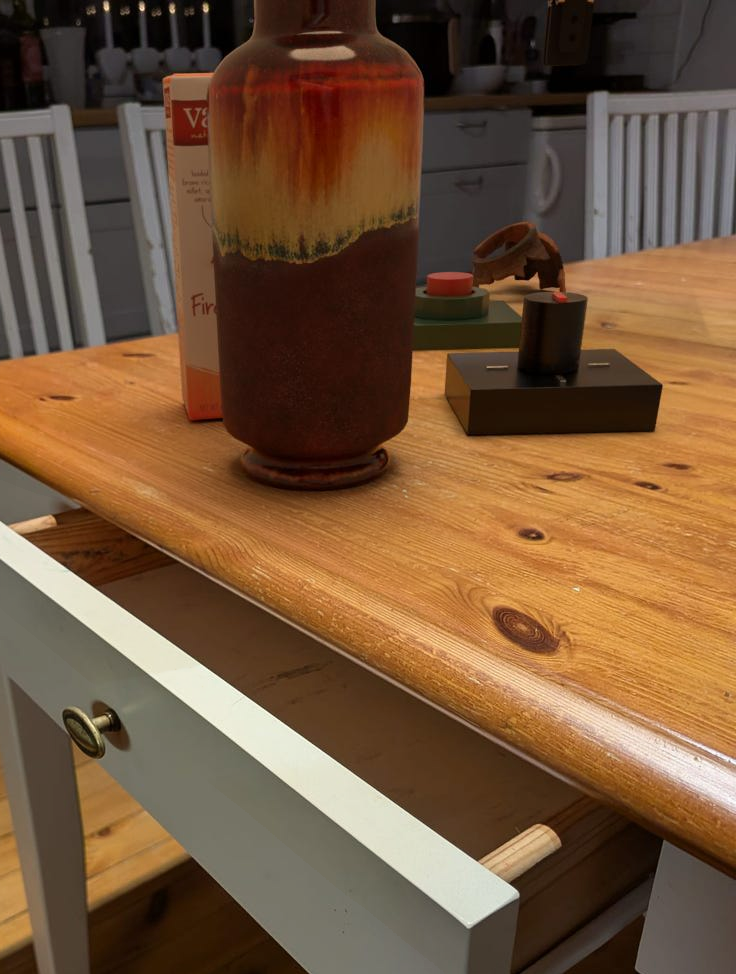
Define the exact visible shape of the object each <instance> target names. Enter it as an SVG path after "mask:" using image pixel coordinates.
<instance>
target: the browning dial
mask: <svg viewBox="0 0 736 974" xmlns="http://www.w3.org/2000/svg"><path fill="white" fill-rule="evenodd" d="M588 301H589V297H588V296H586V295H584V294H581V293H576V292H569V291H568V292H567V291H566V292H560V291H543V292H541V291H540V292H533V293H529V294H526V295H524V297H523V304H522V313H521V314H522V315H521V317H522V323H521V333H520V343H519V348H518V351H519V353H518V363H517V366H518V368H519V369H521V370H524V371H527V372H532V373H540V374H563V373H569V372H573V371H576V370H577V369H578V368H579V362H580V355H581V350H582V347H583V346H582V345H583V338H584V331H585V325H586V316H587V308H588Z"/></svg>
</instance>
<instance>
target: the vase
mask: <svg viewBox="0 0 736 974" xmlns="http://www.w3.org/2000/svg"><path fill="white" fill-rule="evenodd" d="M376 20H377V19H376V0H253V28H252V30H253V31H252V35H251V36H250V37H249V39H248V40H247V41H245V42H244V43H242V44H241V45H239V46H238V47H236V48H235V49H233V50H232V51H231V52H229V53H228V54H227V55H225V57H224V58H223V59H222V60H221V61H220V63H219V64H218V66H217V67H216V68H215V70H214V72H212V73H213V75H212V77H211V79H210V80H209V83H208V86H207V94H206V100H207V134H208V157H209V177H210V198H211V218H212V239H213V259H214V279H215V297H216V316H217V335H218V353H219V372H220V390H221V402H222V414H223V418H222V424H223V427H224V428H225V430H226V432H227V433H228V434H229V435H230V436H231V437H233V438H234V439H236V440H237V441H239V442H241V443H243V444H245V445H247V447H246V448H245V450H244V451H242V454H241V457H240V469H241V471H242V472H243V474H244V475H245V476H247V478H249V479H251V480H252V481H254V482H257V483H260V484H263V485H267V486H270V487H274V488H279V489H280V488H281V489H287V490H299V491H328V490H330V491H331V490H338V489H346V488H351V487H356V486H360V485H364V484H366V483H370V482H372V481H375V480H377V479H379V478H380V477H382V476H384V475H385V474H386V473H387V472H388V470H389V468H390V466H391V456H390V452H389V451H388V450H387V448H386V447H385V446H384V443H385V442H388V441H389V440H392V439H393V438H395V437H396V436H398V435H399V434H401V432H402V431H404V430H405V428H406V426H407V424H408V422H409V414H410V413H409V412H410V401H411V400H410V398H411V389H412V372H413V371H412V370H413V353H414V351H413V334H414V315H415V295H416V288H417V274H418V254H419V253H418V252H419V251H418V250H419V231H420V214H421V213H420V211H421V189H422V167H423V150H424V149H423V147H424V146H423V145H424V126H425V125H424V124H425V123H424V122H425V119H424V118H425V79H424V76H423V74H422V70H420V68H419V66H418V64H417V63H416V61H415V60H414V58H413V57H412V56H411V55H410V54H409V53H408V51H407V50H405V48H403V47H401V46H400V45H398V43H396V42H394V41H392V40H390V39H389V38H387V37H385V36H383V35H382V34H381V33H380V32H379V30H378V27H377V21H376Z"/></svg>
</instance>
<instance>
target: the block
mask: <svg viewBox="0 0 736 974" xmlns="http://www.w3.org/2000/svg"><path fill="white" fill-rule="evenodd" d="M426 289H427V286H419V287H416V295H415V315H414V334H413V352H417V351H418V352H419V351H450V350H456V351H457V350H484V349H485V350H490V349H493V350H494V349H519V343H520V333H521V323H522V315H520V314H519V313H518V312H517V311H515V309H514V308H513V307H511V306H510V305H509V304H508V303H507V302H506V301H505V300H490V296H491V293H490V291H489V290H488V289H487V288H483V287H480V286H479V287H474V286H472V294H471V295H464V296H432V295H427V294H426Z"/></svg>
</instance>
